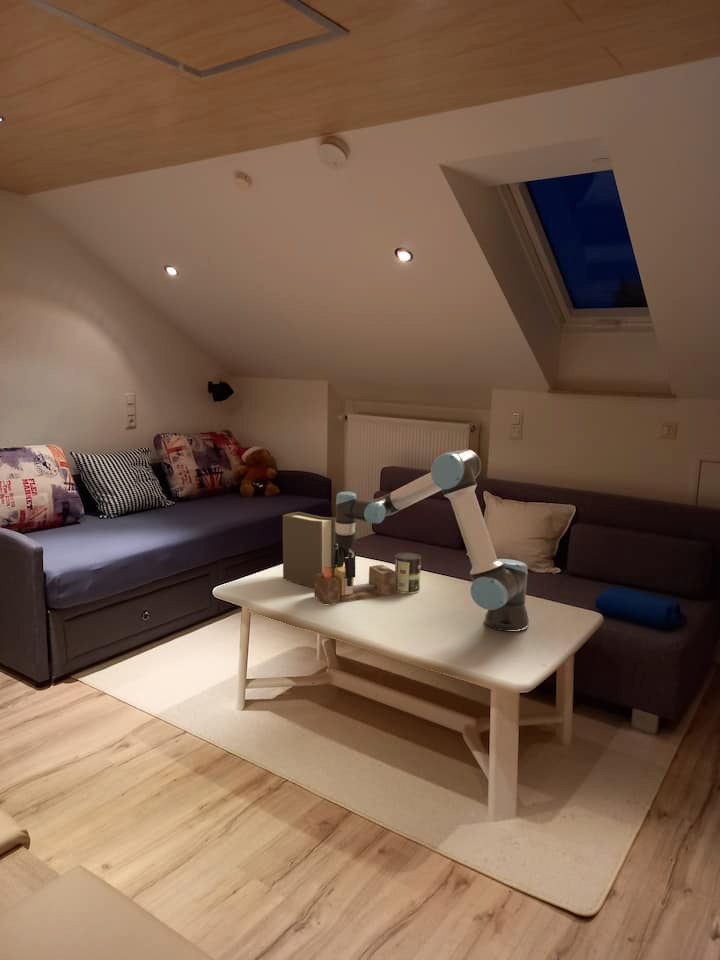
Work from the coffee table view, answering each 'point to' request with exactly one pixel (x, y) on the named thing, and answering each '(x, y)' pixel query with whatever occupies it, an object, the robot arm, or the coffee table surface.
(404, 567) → the coffee can
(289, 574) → the book
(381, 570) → the wooden base
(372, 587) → the bar
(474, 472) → the robot arm
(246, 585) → the coffee table surface
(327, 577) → the orange peg
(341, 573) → the carriage
